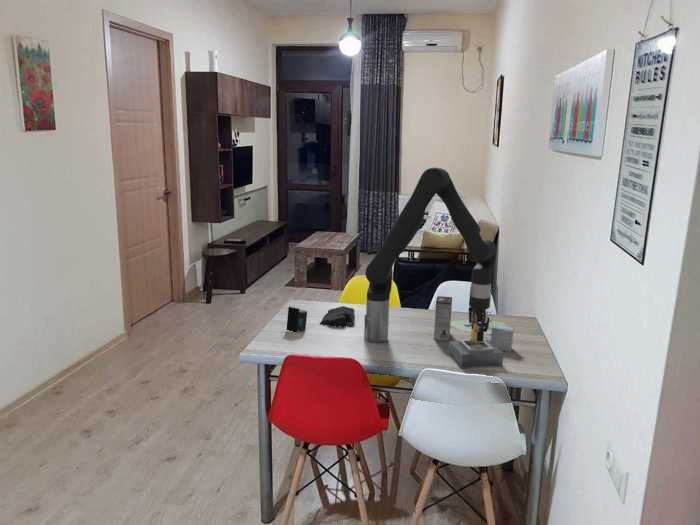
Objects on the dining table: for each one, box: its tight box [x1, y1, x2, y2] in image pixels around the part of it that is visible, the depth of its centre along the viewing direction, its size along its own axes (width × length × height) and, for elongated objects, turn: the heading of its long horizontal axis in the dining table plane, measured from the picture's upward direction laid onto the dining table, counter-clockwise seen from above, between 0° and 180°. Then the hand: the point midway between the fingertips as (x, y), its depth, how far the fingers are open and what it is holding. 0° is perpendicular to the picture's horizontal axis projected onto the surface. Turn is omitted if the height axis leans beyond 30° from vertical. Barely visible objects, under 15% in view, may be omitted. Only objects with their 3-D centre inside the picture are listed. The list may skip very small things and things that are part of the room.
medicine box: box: [490, 325, 515, 352], centre depth 221 cm, size 8×4×9 cm, turn 65°
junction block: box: [448, 339, 505, 369], centre depth 209 cm, size 16×13×6 cm
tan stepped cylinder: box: [469, 323, 485, 343], centre depth 207 cm, size 5×5×6 cm
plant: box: [450, 310, 508, 334], centre depth 246 cm, size 25×21×9 cm
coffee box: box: [433, 295, 453, 341], centre depth 232 cm, size 9×6×16 cm
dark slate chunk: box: [319, 305, 356, 328], centre depth 251 cm, size 15×22×5 cm
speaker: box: [286, 306, 308, 333], centre depth 234 cm, size 8×6×10 cm
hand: (476, 338), depth 208 cm, fingers closed on tan stepped cylinder, 4 cm apart
